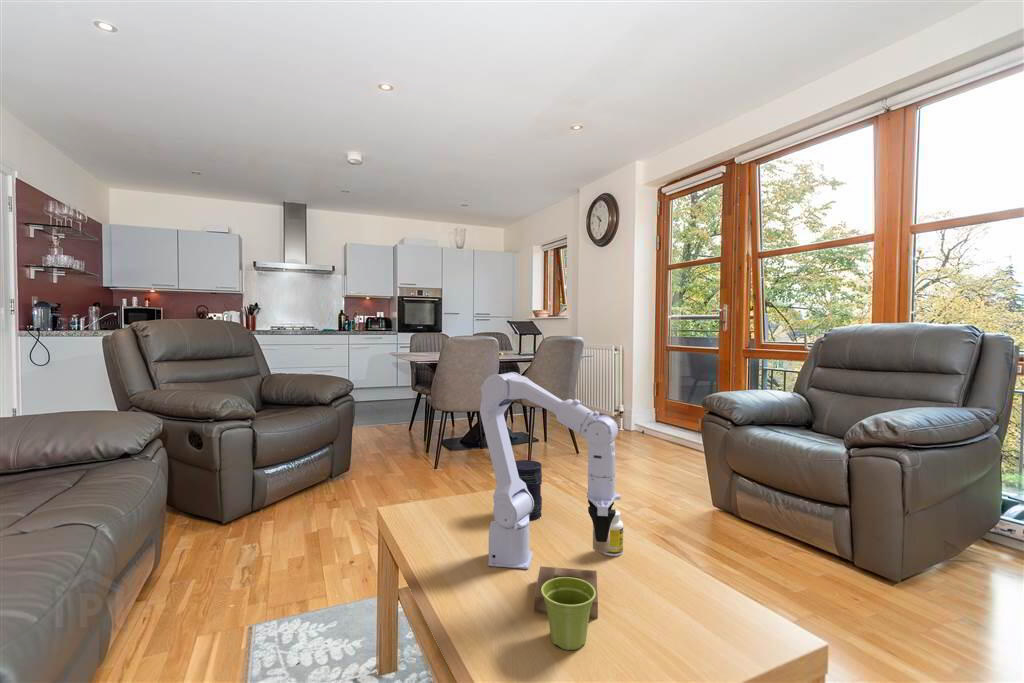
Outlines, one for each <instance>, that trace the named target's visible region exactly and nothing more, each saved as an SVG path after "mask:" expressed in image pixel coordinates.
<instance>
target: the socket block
mask: <svg viewBox="0 0 1024 683" xmlns="http://www.w3.org/2000/svg"><path fill="white" fill-rule="evenodd" d="M597 573H598V572H597V570H590V569H579V568H567V567H566V568H565V567H554V566H553V567H552V566H542V565H541V566H540V567H539V572H538V576H537V582H536V586H535V591H534V595H533V597H534V598H533V604H534V605H533V609H534V610H533V611H534V612H533V613H536V614H537V613H539V614H547V615H548V613H547V607H546V603H545V601H544V597H543V595H542V593H541V588H542V586H543V584H544V583H545V582H547V581H549V580H551V579H554V578H558V577H572V578H578V579H581V580H584V581H586V582H588V583H589V584H591V585H592V586H593V587H594V589H595V592H596V595H595V598H594V600H593V602H592V606H591V607H590V614H589V619H590V618H593V619H599V615H598V614H599V600H598V599H599V595H598V594H599V593H598V575H597Z"/></svg>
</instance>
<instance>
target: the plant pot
mask: <svg viewBox="0 0 1024 683" xmlns="http://www.w3.org/2000/svg"><path fill="white" fill-rule="evenodd" d="M541 593H542V595H543V597H544V601H545V603H546V607H547V613H548V614H547V618H548V620H547V621H548V625H549V626H548V628H549V633H550V640H551V642H552V643H553V645H557V646H558V647H560V649H563V650H568V651H569V650H571V651H574V650H579V649H581V647H583V645H585V644H586V641H587V635H588V627H589V621H590V620H589V619H590V617H589V614H590V607H591V606H592V602H593V600H594V598H595V595H596V592H595V589H594V587H593V586H592V585H591V584H589V583H588V582H586V581H584V580H581V579H578V578H572V577H558V578H554V579H551V580H549V581H547V582H545V583H544V584H543V586H542V588H541Z"/></svg>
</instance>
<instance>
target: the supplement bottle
mask: <svg viewBox="0 0 1024 683" xmlns="http://www.w3.org/2000/svg"><path fill="white" fill-rule="evenodd" d="M611 509H612V508H611ZM612 510H615V511H616V514H615V516H614V518H613V520H612V522H611V525H610V550H609V551H608V552H601V553H602V554H604V555H605V556H608V557H609V556H610V557H619V556H621V555H622V554H623V553H624V523H623V520H621V515H622V514H621V511H619V510H617V509H612Z"/></svg>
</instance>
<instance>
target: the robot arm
mask: <svg viewBox="0 0 1024 683" xmlns="http://www.w3.org/2000/svg"><path fill="white" fill-rule="evenodd" d="M480 392H481V400H480V405H479V406H480V407H479V413H480V418H481V422H482V426H483V427H482V428H483V432H484V434H485V439H486V443H487V448H488V452H489V456H490V460H491V464H492V469H493V473H494V478H495V481H496V487H495V489H494V492H493V494H492V498H493V510H492V511H493V518H494V520H491V522H490V525H489V527H488V528H489V529H488V562H487V566H489V567H499V568H513V569H523V570H524V569H525V570H528V569H530V566H531V562H532V557H533V551H532V550H530V521H529V513H531V511H532V510H533V508H534V500H533V497H532V495H531V494H530V493H529V491H528V489H527V486H526V483H525V482H523V481H522V480H521V479H520V478H519V475H518V471H517V467H516V463H515V461H516V459H515V455H514V451H513V446H512V443H511V438H510V435H509V431H508V427H507V426H508V425H507V423H506V419H505V412H506V411H507V409H508V408H509V406H510V405H511V404H512V402H514V401H515V400H519V399H520V400H522V399H525V400H528V401H529V402H532V403H533V404H535V405H538V406H540V407H542V408H543V409H546V410H547V411H549V412H551V413H553V414H554V415H555V417H556V420H557V422H558V423H560V424H562V425H563V426H565V427H567V429H570V430H572V431H574V432H575V433H577V434H579V435H580V436H582V437H584V439H585V441H586V443H587V444H588V446H587V447H588V450H587V451H588V452H587V492H586V497H587V502H588V504H589V506H587V511H588V512H587V513H588V514H589V517H590V518H591V520H592V526H593V525H594V531H595V537H596V541H597V542H607V539H608V534H609V529H610V525H611V522H612V520H613V518H614V516H615V514H616V511H615V510H616V509H613V510H612V508H613V505H615V501H617V500H618V501H620V500H621V499H622V497H621V493H616V441H615V439H616V438H617V436H618V434H619V425H618V424H617V422H616V420H615V419H613V418H612V417H611V416H610V415H608V414H602V415H600V411H598V410H591V409H590V408H588V407H586V406H584V405H582V404H581V402H582V401H581V400H579V399H577V398H575V399H570V398H569V399H565V400H563V399H561V398H559V397H558V396H556V395H554V394H553V393H551V392H550V391H548V390H546V389H545V388H543V387H541V386H540V385H538V383H537V384H536V383H535V382H533V381H532V380H531V379H530V378H528V377H527V376H524V375H521V374H519V373H518V372H515V371H510V372H506V373H501V374H490V375H489V376H488V377H487V378H486V379H485V380H484V382H483V383H482V385H481V386H480Z"/></svg>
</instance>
